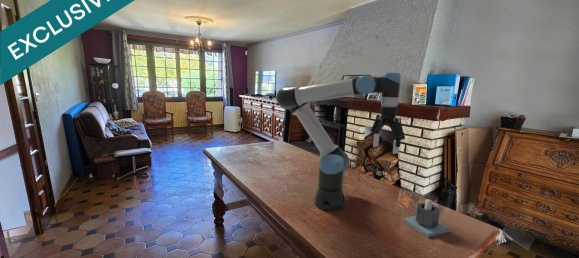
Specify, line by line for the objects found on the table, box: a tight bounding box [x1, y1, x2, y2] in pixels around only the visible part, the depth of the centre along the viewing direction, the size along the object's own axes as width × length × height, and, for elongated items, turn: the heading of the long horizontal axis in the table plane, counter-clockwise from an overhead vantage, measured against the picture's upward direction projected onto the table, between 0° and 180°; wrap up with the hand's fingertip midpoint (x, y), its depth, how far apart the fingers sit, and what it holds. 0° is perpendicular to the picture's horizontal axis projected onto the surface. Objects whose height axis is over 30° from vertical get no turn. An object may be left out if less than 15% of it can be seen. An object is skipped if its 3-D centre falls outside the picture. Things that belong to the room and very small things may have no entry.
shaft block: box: [403, 199, 451, 238], centre depth 103 cm, size 12×12×12 cm
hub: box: [414, 202, 441, 227], centre depth 103 cm, size 8×8×6 cm
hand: (385, 149), depth 121 cm, fingers open, 13 cm apart
